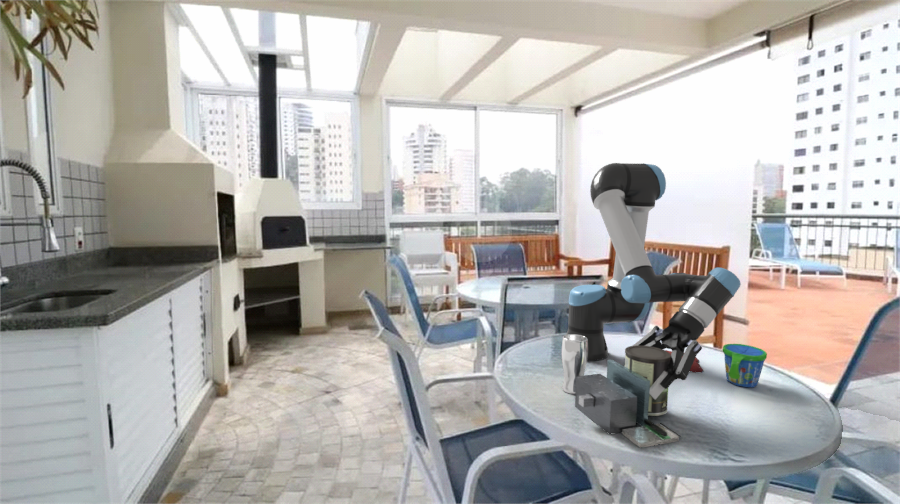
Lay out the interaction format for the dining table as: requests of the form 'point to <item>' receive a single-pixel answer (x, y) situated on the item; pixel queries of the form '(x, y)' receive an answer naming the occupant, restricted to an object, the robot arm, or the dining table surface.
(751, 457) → the dining table surface
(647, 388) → the blue-grey panel with base
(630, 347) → the coffee can
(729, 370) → the snack cup
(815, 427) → the dining table surface
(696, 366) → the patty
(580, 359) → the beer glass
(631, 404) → the gauge housing
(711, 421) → the dining table surface
